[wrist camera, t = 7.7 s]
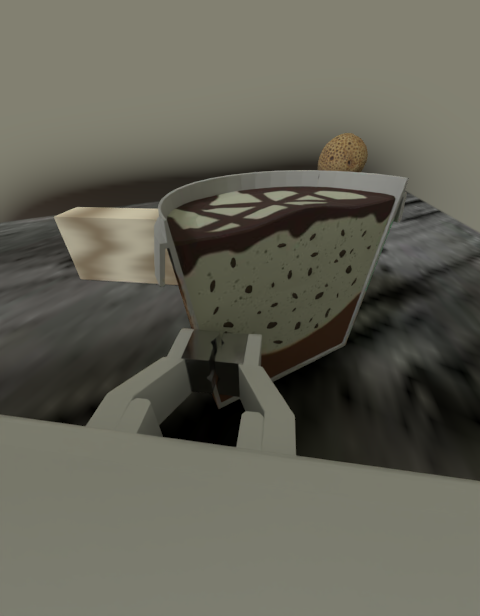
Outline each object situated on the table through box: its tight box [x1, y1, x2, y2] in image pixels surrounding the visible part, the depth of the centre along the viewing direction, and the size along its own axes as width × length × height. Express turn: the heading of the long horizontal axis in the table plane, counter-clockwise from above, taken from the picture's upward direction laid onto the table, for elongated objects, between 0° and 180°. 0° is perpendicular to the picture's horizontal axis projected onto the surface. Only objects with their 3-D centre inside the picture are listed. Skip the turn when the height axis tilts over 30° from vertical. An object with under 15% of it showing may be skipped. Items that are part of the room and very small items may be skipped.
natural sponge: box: [318, 133, 367, 172], centre depth 51 cm, size 9×9×10 cm
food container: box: [154, 170, 409, 409], centre depth 15 cm, size 12×6×10 cm, turn 119°
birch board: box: [54, 207, 178, 285], centre depth 23 cm, size 20×3×6 cm, turn 82°
